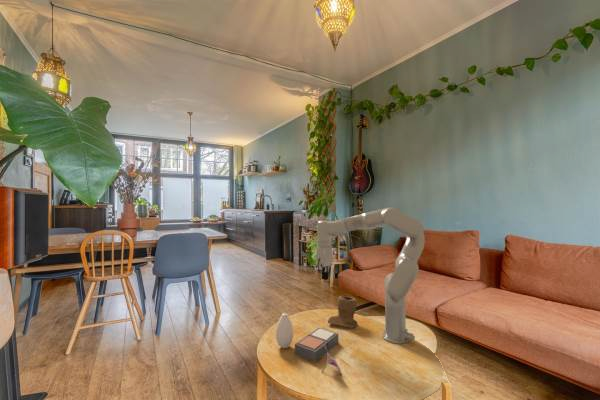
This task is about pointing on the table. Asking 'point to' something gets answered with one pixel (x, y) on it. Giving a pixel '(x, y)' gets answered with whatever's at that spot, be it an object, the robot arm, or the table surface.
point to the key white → (322, 334)
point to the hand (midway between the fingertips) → (324, 279)
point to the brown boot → (345, 312)
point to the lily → (331, 361)
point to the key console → (320, 351)
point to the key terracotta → (311, 343)
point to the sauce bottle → (284, 331)
